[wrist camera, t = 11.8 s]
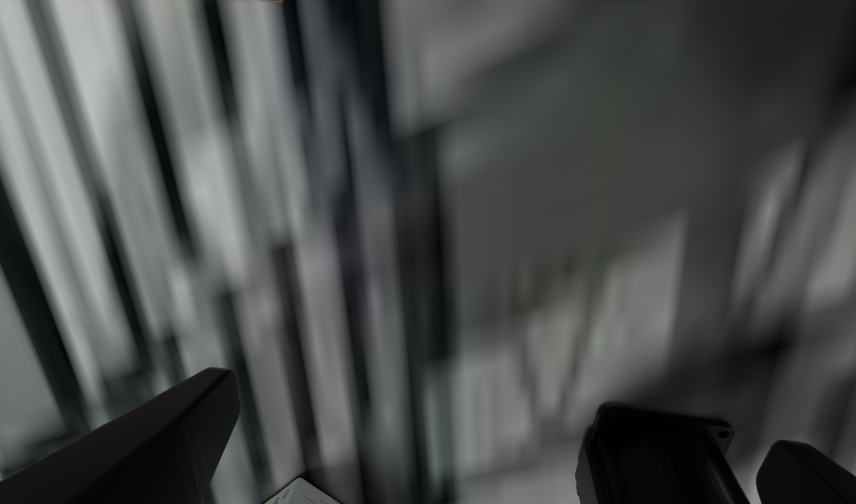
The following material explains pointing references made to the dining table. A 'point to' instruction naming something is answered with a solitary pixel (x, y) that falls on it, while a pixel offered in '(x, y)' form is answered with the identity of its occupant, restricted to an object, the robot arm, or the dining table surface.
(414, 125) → the dining table surface
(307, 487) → the skincare box
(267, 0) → the square wooden holder
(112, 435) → the robot arm
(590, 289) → the dining table surface
